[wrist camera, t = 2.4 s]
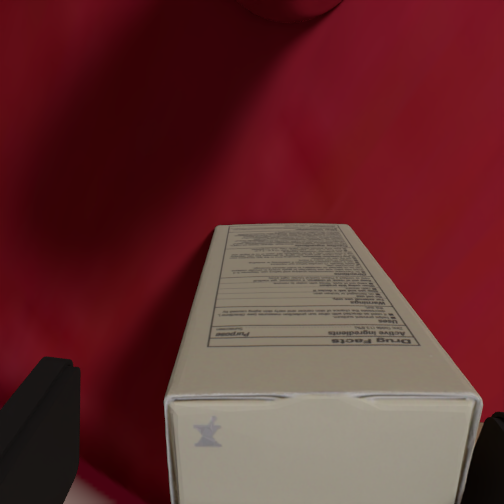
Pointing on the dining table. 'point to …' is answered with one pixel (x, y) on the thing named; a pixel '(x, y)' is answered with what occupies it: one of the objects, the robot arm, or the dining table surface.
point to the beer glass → (288, 9)
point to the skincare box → (312, 380)
